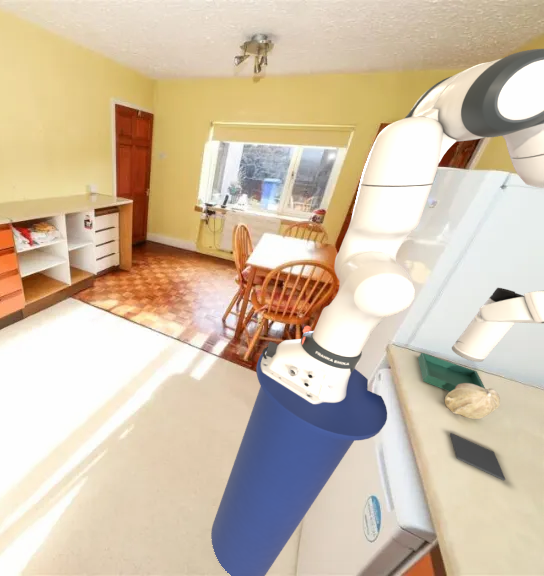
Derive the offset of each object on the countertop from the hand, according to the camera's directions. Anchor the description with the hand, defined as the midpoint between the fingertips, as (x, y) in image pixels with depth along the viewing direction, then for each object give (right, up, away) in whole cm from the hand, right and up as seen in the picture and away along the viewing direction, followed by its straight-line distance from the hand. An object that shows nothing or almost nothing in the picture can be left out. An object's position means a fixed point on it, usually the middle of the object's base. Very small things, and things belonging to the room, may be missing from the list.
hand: (490, 319), depth 69 cm
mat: (-18, -28, -11) cm, 35 cm away
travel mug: (-1, -10, +5) cm, 12 cm away
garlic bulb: (-10, -24, -1) cm, 25 cm away
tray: (-1, -19, +9) cm, 21 cm away
